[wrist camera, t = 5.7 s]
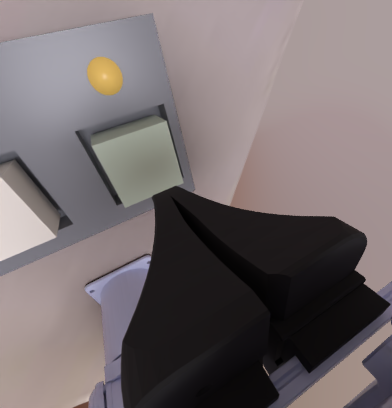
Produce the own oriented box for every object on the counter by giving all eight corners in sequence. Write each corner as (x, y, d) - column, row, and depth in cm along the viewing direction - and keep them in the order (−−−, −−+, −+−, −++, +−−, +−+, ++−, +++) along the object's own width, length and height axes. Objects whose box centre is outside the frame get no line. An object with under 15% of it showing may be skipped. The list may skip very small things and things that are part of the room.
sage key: (171, 170, 19) (183, 183, 16) (119, 190, 17) (125, 208, 15) (154, 114, 16) (166, 121, 13) (90, 135, 14) (91, 146, 12)
